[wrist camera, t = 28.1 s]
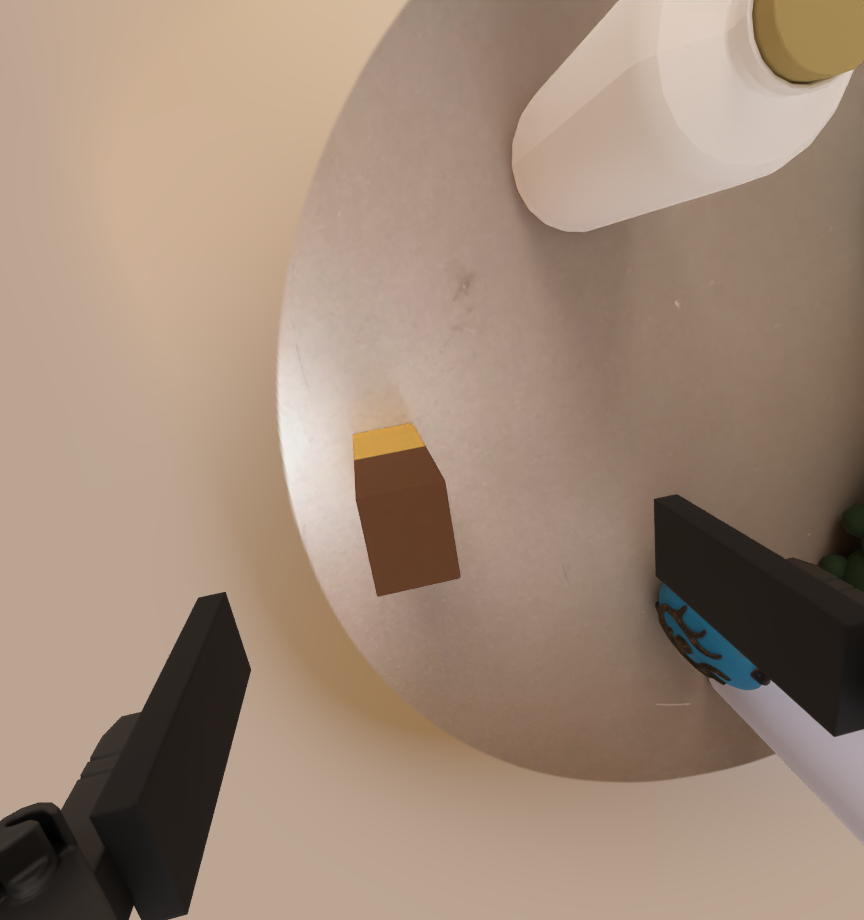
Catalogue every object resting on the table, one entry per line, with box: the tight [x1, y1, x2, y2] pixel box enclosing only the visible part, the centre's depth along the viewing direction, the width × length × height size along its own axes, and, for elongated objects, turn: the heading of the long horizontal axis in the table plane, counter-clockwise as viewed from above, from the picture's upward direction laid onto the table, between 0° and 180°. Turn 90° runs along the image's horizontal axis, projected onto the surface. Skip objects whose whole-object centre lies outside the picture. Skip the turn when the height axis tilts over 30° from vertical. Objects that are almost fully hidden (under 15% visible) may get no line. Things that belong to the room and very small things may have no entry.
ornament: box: [655, 583, 770, 690], centre depth 37 cm, size 8×5×10 cm, turn 27°
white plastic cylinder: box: [512, 0, 864, 232], centre depth 23 cm, size 8×8×18 cm
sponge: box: [353, 423, 460, 597], centre depth 29 cm, size 4×5×12 cm
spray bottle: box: [709, 678, 864, 845], centre depth 34 cm, size 6×6×22 cm
